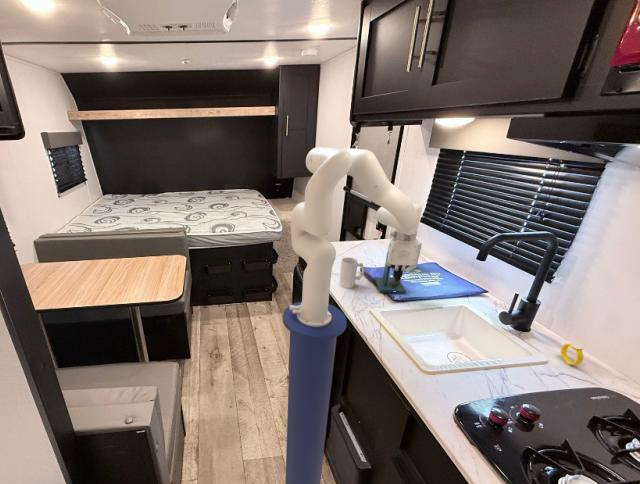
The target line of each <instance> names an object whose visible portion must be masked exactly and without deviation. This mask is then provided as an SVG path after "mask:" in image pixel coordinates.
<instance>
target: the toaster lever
mask: <svg viewBox="0 0 640 484" xmlns="http://www.w3.org/2000/svg"><path fill="white" fill-rule="evenodd" d="M390 269H391V271H392V273H393V272H394V269H393V268H392V267H391V266H390ZM392 278H394V277H393V276H392ZM400 282H401V279H400V280H395V278H394V279H393V280H392V284H393V285H394V286H398V285H400Z"/></svg>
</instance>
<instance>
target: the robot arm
mask: <svg viewBox="0 0 640 484" xmlns="http://www.w3.org/2000/svg"><path fill="white" fill-rule="evenodd" d="M305 166H306V168H307V170H308V171H309V172H310V173H312V175H311V177H310V179H309V180H308V181H307V183H306V186H305V190H304V201H301V202H299V203H297V204H296V205H295V206H294V208H293V209H292V211H291V214H290V236H291V237H290V239H291V247H292V250H293V252H294V253H295V254H296V255H298V256H299V257H301V259H303V260H305V261H306V262H307V265H306V267H305V269H304V271H303V274H302V294H301V295H302V296H301V299H302V300H301V302H302V303H301V305H298V306H294V305H292V304H290V305H289V306H290V310H293V313H295V314H296V313H297V317H298V320H299V321H300V322H302V323H303V324H305V325H308V326H312V327H321V326H325V325H327V324H329V323H330V322H331V317H332V316H331V314H330V312H329V311H328V304H329V300H330V291H331V290H330V289H331V279H332V271H333V267H334V264H335V261H336V257H337V250H336V248H335V246H334V244H333V243H332V242H330V240H327V239H326V238H324V237H325V236H327V235H328V234H329V233H330V232H331V230H332V227H333V196H334V192H335V188H336V187H337V185H338V183H339V182H340V181H341V180H342V179H343V178H344V177H345V176H349V177H352V178H353V179H354V181H355V182H356V183H357V185H358V187H359V189H360V190H361V192H362V193H363V195H364V196H365V198H366V199H368V200H369V201H371V202H372V203H374V204H375V205H378V206H379V208H378V209H377V210H376V213H375V218H376V220H377V222H379V224H382V225H384V226H387V227H390V228H393V229H394V231H393V232H390V234H389V235H390V237H392V238H391V240H390V242H389V244H388V247H387V251H386V257H385V262H384V265H385V264H386V265H387V266H391V267H392V268H393V269H394V272H393V271H392V278H393V277H394V278H395V280H400V281H401V278H402V277H403V275H404V274H403V273H404V272H405V271H404V270H405V269H406V268H408V267H412V266H415V264H416V261H417V253H418V242H419V240H418V239H417V235H418V231H419V226H420V220H421V216H422V210H423V206H422V205H421V204H419V203H416V202H412V201H411V199H410V198H409V197H408V196H407V195H406V194H405V193H404V192H402V191H401V190H400V189H399V188H398V187H397V186H395V185H394V184H393V183H391V181H390V180H389V178H388V176H387V174H386V173H385V171H384V169H383V167H382V165H381V163H380V162H379V160H378V158H377V157H376V154H374V152H372V151H371V150H369V149H362V148H351V147H330V146H329V147H328V146H316V147H313V148H312V149H311V150H310V151H309V152H308V153H307V155H306V157H305ZM386 259H387V260H386ZM398 265H400V267H399V268H398ZM392 268H391V269H392Z"/></svg>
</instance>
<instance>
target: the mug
mask: <svg viewBox="0 0 640 484" xmlns="http://www.w3.org/2000/svg"><path fill="white" fill-rule="evenodd" d="M358 262H359V260H358V259H357V258H355V257H349V256H348V257H342V258H341V263H340V273H339V274H340V275H339V286H341V287H342V288H345V289H352V288H354V287H355V282H356V281H358V280H359V281H360V280H361V279H362V278H363V275H364V274H365V266H364V262H359V263H358ZM358 268H361V272H360V274H359V275H357V270H358Z"/></svg>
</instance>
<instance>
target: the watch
mask: <svg viewBox="0 0 640 484" xmlns="http://www.w3.org/2000/svg"><path fill="white" fill-rule="evenodd" d="M568 348H570V349H572V350H574V351H575V353H576V359H575V361H574V362H573V361H572V360H571V359H570V358H569V357H568V354H567V353H568ZM583 350H584V347H583V346H582V345H581V344H579V343H576V342H570V343H564V344H563V345H562V346H561V348H560V356H561V358H562V359H563V360H564V361H565V362H566V363H567V365H570V366H578V365H580V364H582V362H583V361H584V353H583Z"/></svg>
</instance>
